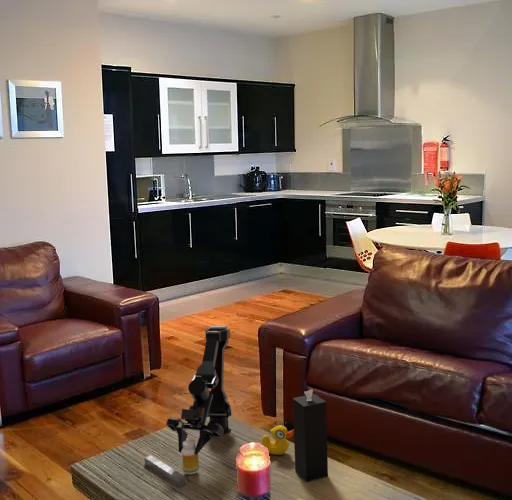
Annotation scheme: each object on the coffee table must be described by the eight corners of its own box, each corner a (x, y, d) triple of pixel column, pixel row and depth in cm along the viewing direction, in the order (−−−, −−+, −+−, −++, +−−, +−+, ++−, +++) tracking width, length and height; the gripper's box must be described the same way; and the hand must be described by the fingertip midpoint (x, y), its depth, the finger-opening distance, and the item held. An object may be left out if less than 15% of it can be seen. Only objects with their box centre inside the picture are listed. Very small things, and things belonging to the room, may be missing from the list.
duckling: (295, 450, 217) (295, 423, 216) (294, 457, 212) (293, 429, 210) (263, 449, 219) (262, 422, 218) (260, 456, 214) (259, 428, 212)
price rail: (152, 461, 213) (151, 454, 213) (187, 484, 197) (186, 476, 197) (144, 464, 212) (144, 457, 211) (179, 487, 196) (179, 479, 195)
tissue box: (294, 471, 203) (292, 388, 199) (316, 466, 206) (314, 383, 202) (306, 482, 195) (303, 396, 191) (328, 476, 198) (326, 391, 194)
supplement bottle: (201, 471, 203) (199, 443, 201) (185, 476, 200) (183, 447, 199) (195, 465, 207) (193, 437, 206) (180, 469, 205) (178, 441, 204)
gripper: (166, 394, 207) (151, 440, 199) (218, 400, 200) (205, 448, 192) (179, 407, 216) (165, 452, 207) (229, 413, 209) (217, 460, 200)
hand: (187, 453), depth 202 cm, fingers closed on supplement bottle, 5 cm apart
